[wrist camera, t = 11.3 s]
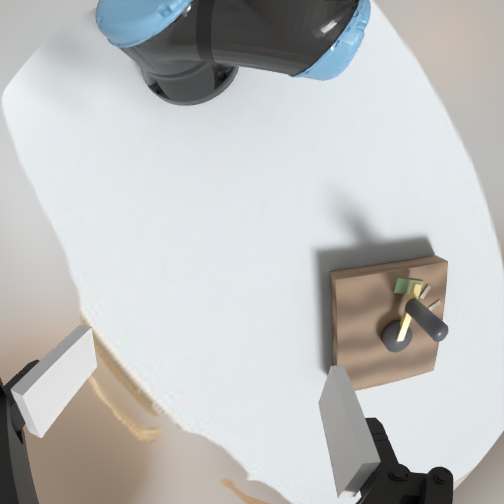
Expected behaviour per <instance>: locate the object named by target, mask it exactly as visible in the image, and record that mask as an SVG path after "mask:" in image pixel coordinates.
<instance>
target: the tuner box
mask: <svg viewBox="0 0 504 504" xmlns="http://www.w3.org/2000/svg"><path fill="white" fill-rule="evenodd" d="M447 268H448V261H446V260H444V259H442V258H440V257H438V256H430V257H424V258H418V259H411V260H405V261H399V262H392V263H386V264H379V265H372V266H365V267H358V268H351V269H344V270H337V271H330V281H331V302H332V334H333V366H345V369H346V371H347V374H348V376H349V379H350V381H351V384H352V386H353V389H354V391H356V390H361V389H366V388H370V387H375V386H379V385H383V384H387V383H391V382H395V381H399V380H403V379H406V378H410V377H414V376H417V375H420V374H424V373H427V372H430V371H433V370H434V366H435V361H436V356H437V351H438V345H439V342H435V341H434V340H433V339H432V338H431V337H430V336H429V335H428V334H427V333H426V332H425V331H424V330H423V329H422V328H421V327H420V326H419V325H418V324H417V323H416V322H415V321H414V320H413V319H412V318H411V321H410V323H409V328H410V329H411V330H412V334H413V335H412V340H411V342H410V344H409V345H408V346H407V347H406V348H405V349H404V350H402V351H400V352H395V353H394V352H390V351H388V350H387V348H386V347H385V345H384V344H383V342H382V340H381V335H382V332H383V330H384V328H385V327H386V326H387V325H388V324H389V323H391V322H392V321H395V320H401V318H402V315H403V312H404V309H405V305H406V303H407V300H408V297H409V293H410V290H411V287H412V283H413V282H416V283H420V284H421V285H422V286H421V290H420V293H419V296H418V299H417V300H419V301H420V302H421V303H422V304H423V305H424V306H426V307H427V308H428V309H429V310H430V311H431V312H432V313H434V314H435V315H436V316H437V317H438V318H439V319H440V320H443V312H444V304H445V294H446V283H447Z"/></svg>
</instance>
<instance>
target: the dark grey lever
mask: <svg viewBox="0 0 504 504" xmlns="http://www.w3.org/2000/svg"><path fill="white" fill-rule="evenodd" d="M421 286H422V285H421V284H420V283H416V282H413V283H412V287H411V290H410V293H409V297H408V300H407V303H406V305H405V309H404V312H403V315H402V318H401V320H395V321H392V322H391V323H389V324H388V325H387V326H386V327H385V328H384V330H383V332H382V335H381V340H382V342H383V344H384V345H385V347H386V348H387V350H388V351H390V352H394V353H395V352H400V351H402V350H404V349H405V348H406V347H407V346H408V345H409V344H410V342H411V340H412V335H413V334H412V330H411V329H410V328H409V323H410V321H411V318H412V319H413V320H414V321H415V322H416V323H417V324H418V325H419V326H420V327H421V328H422V329H423V330H424V331H425V332H426V333H427V334H428V335H429V336H430V337H431V338H432V339H433V340H434V341H435V342H439V341H442V340H443V339H444V338H445V337H446V335H447V333H448V326H447V325H446V324H445V323H444V322H443V321H442V320H440V319H439V318H438V317H437V316H436V315H435V314H434V313H432V312H431V311H430V310H429V309H428V308H427V307H426V306H424V305H423V304H422V303H421V302H420V301H419V300H417V299H418V296H419V293H420V290H421Z"/></svg>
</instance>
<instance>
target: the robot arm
mask: <svg viewBox="0 0 504 504" xmlns="http://www.w3.org/2000/svg"><path fill="white" fill-rule="evenodd" d="M370 9H371V6H370V1H369V0H99V2H98V5H97V9H96V22H97V25H98V27H99V29H100V30H101V32H102V33H103V34H104V35H105V36H106V37H107V38H108V40H109V42H110V43H111V44H112V45H115V46H117V47H118V48H120V49H121V50H122V51H123V52H125V53H126V54H127V55H128V56H129V57H131V58H132V59H133V60H134V61H135V62H136V63H138V64H139V65H140V66H141V67H142V71H143V76H144V79H145V82H146V84H147V85H148V87H149V88H150V90H151V91H152V92H153V93H155V94H156V95H157V96H158V97H160V98H161V99H163V100H164V101H166V102H169V103H172V104H175V105H196V104H200V103H203V102H206V101H208V100H211V99H213V98H214V97H216V96H218V95H219V94H220V93H222V92H223V91H224V90H225V89H226V88H227V87H228V86H229V85H230V84H231V82H232V81H233V79H234V78H235V76H236V74H237V71H238V68H239V66H241V67H248V68H255V69H261V70H267V71H273V72H278V73H283V74H288V75H289V76H291V77H305V78H311V79H316V80H321V81H323V80H329V79H333V78H335V77H337V76H338V75H340V74H341V73H342V72H343V71H344V70H345V69H346V67H347V66H348V65H349V63H350V62H351V60H352V59H353V57H354V56H355V54H356V52H357V50H358V48H359V46H360V44H361V42H362V40H363V37H364V29H365V28H366V26H367V24H368V21H369V17H370ZM96 367H97V363H96V357H95V350H94V343H93V336H92V328H91V327H88V326H85V325H79V326H78V327H77V328H76V329H75V330H74V331H73V332H71V333H70V334H69V335H68V336H67V337H66V338H65V339H64V340H63V341H61V343H59V344H58V345H57V346H56V347H55V348H54V349H53V350H52V351H50V352H49V353H48V354H47V355H46V356H45V357H44V358H43V359H42V360H41V361H39V360H35V361H33V362H30V363H29V364H27V365H26V366H25V367H24V368H23V370H21V371H20V372H19V373H18V374H16V375H15V376H14V377H13V378H12V379H11V380H10V381H9V382H8V383H7V384H6V385H5V386H3V383H2V381H1V378H0V504H39V502H38V498H37V495H36V491H35V487H34V483H33V479H32V475H31V470H30V465H29V460H28V454H27V448H26V442H25V435H24V431H23V426H24V425H25V424H26V426H27V428H28V429H29V432H31V433H33V434H34V435H36V436H38V437H40V438H42V437H43V435H44V434H45V433H46V431H47V430H48V429H49V427H50V426H51V425H52V423H53V422H54V421H55V419H56V418H57V417H58V415H59V414H60V413H61V411H62V410H63V409H64V408H65V406H66V405H67V404H68V402H69V401H70V400H71V399H72V397H73V396H74V395H75V393H76V392H77V391H78V390H79V388H80V387H81V386H82V384H83V383H84V382H85V381H86V380H87V378H88V377H89V376H90V375H91V373H92V372H93V371H94V370H95V368H96ZM318 404H319V408H320V413H321V417H322V422H323V427H324V431H325V436H326V441H327V446H328V450H329V455H330V460H331V465H332V470H333V475H334V480H335V485H336V490H337V496H338V498H343V497H353V496H355V495H356V494H357V493H358V492H359V490H360V492H361V496H362V497H361V498H360V499H359V500H358V502H357V503H356V504H452V501H453V475H452V473H451V472H450V471H449V470H448V469H446V468H444V467H435V468H432V469H431V470H430V471H429V472H428V474H425V473H413V472H410V470H409V469H408V468H407V467H406V466H404V465H402V464H399V463H398V461H397V458H396V456H395V453H394V451H393V449H392V446H391V444H390V441H389V440H388V437H387V434H386V432H385V429H384V427H383V425H382V424H381V423H380V422H379V421H378V420H377V419H376V418H365V417H364V415H363V412H362V409H361V407H360V404H359V402H358V399H357V396H356V394H355V391H354V389H353V386H352V384H351V381H350V379H349V376H348V374H347V371H346V369H345V366H331V367H330V370H329V373H328V376H327V380H326V383H325V386H324V389H323V391H322V394H321V397H320V400H319V403H318Z"/></svg>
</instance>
